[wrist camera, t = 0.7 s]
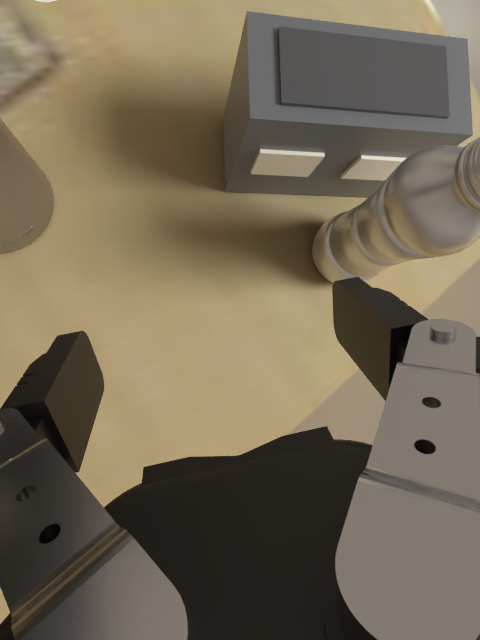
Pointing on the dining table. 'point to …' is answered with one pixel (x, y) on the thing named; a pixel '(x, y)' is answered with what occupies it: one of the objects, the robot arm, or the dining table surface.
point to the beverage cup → (45, 0)
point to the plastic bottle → (406, 216)
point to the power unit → (338, 105)
